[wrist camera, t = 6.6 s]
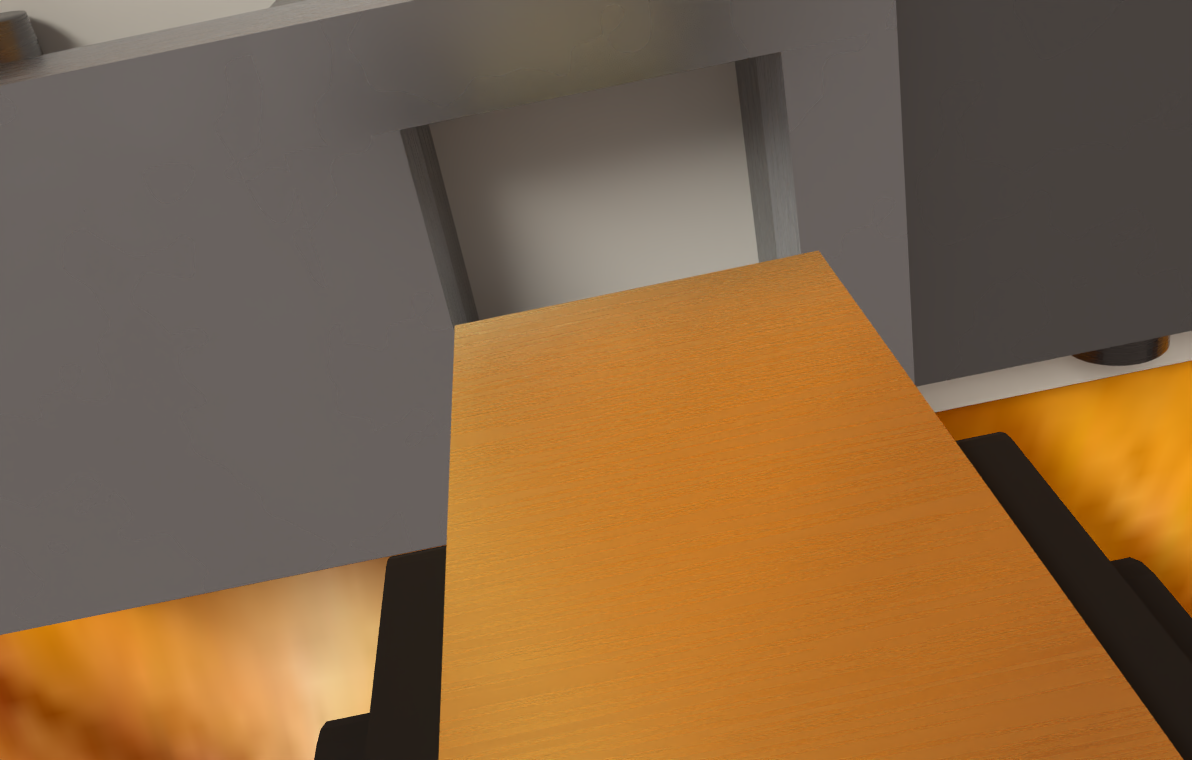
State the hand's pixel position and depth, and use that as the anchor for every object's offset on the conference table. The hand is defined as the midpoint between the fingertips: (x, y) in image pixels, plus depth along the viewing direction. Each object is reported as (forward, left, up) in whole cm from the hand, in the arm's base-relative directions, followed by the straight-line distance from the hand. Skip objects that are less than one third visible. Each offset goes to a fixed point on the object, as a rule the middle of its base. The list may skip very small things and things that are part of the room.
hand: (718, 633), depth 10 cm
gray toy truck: (0, 0, -13) cm, 13 cm away
